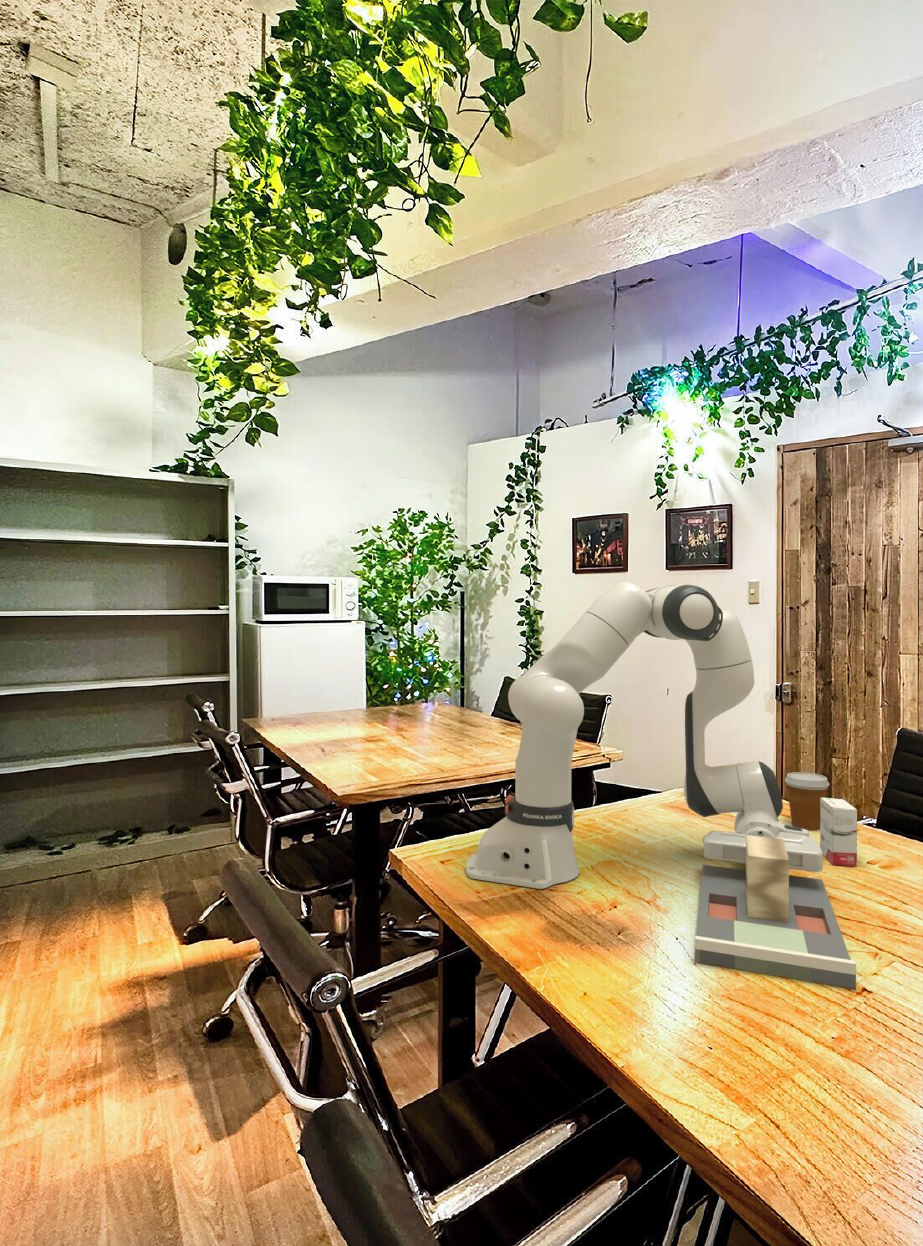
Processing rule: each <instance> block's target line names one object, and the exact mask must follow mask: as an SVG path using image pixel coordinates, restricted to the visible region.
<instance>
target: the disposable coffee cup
mask: <svg viewBox="0 0 923 1246" xmlns="http://www.w3.org/2000/svg"><path fill="white" fill-rule="evenodd" d="M784 781H785V783H786V786H787V794H788V802H789V803H788V804H789V810H790V811H789V812H790V819H791V820H790V821H791V826H793V827H797V828H801V829H805V830H807V831H818V830H819V831H820V798H827V791H828V788H829V786H830V782H829V781H828V778H827V777H826V776H825V775H821V774H818V773H814V772H813V773H812V772H801V771H800V772H797V771H796V772H789V773H787V775H786V777H785V779H784Z"/></svg>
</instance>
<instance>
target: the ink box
mask: <svg viewBox="0 0 923 1246" xmlns="http://www.w3.org/2000/svg"><path fill="white" fill-rule="evenodd" d="M819 831H820V832H819V841H820V842H819V846H820V848H821V850H822V853H823V857H825V858H826V859H827V860H828V862H829V863H830V864H831V865H833V866H848V867H849V866H850V867H857V863H858V852H857V851H858V850H857V849H858V847H857V846H858V842H857V840H858V809H857V808H855V806H853V805H852V804H850V803H849V802H847V800H845V799H840V798H832V797H831V798H830V797H826V798H820V829H819Z"/></svg>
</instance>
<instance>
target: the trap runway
mask: <svg viewBox="0 0 923 1246" xmlns="http://www.w3.org/2000/svg"><path fill="white" fill-rule="evenodd" d="M701 868H702V869H701V875H700V876H701V878H700V889H699V898H698V899H699V900H698V901H699V902H698V912H697V922H696V933H695V936H694V962H695V963H698V964H705V965H710V966H716V967H721V968H726V969H728V968H729V969H733V970H738V971H739V970H740V971H744V972H745V971H747V972H750V973H751V972H753V973H756V974H757V973H758V974H764V975H769V976H775V977H781V978H787V979H794V980H798V981H804V982H805V981H806V982H811V983H816V984H823V985H829V986H833V987H840V988H846V989H851V990H856V989H857V963H856V960H852V959H851V957H850V954H849V951H848V949H847V945H846V943H845V941H844V940H845V939H844V937H843V935H842V931H841V929H840V927H839V923H838V921H837V917H836V915H835V912H834V908H833V906H832V902H831V901H830V898H829V895H828V892H827V889H826V886H825V883H824V881H823V879H822V878H821V879H820V878H814V877H806V876H797V875H790V874H789V917H788V922H782V921H775V920H768V919H761V918H754V917H748V911H747V899H746V869H740V868H734V867H733V868H732V867H724V866H716V865H707V864H702V865H701Z"/></svg>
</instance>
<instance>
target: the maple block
mask: <svg viewBox="0 0 923 1246" xmlns="http://www.w3.org/2000/svg"><path fill="white" fill-rule="evenodd" d="M745 870H746V899H747V911H748V917H754V918H761V919H768V920H775V921H782V922H788V917H789V875H790V869H789V859H788V855H787V851H786V847H785V843H784V840H783V839H778V838H768V837H758V836H749V835H746V864H745Z"/></svg>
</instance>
